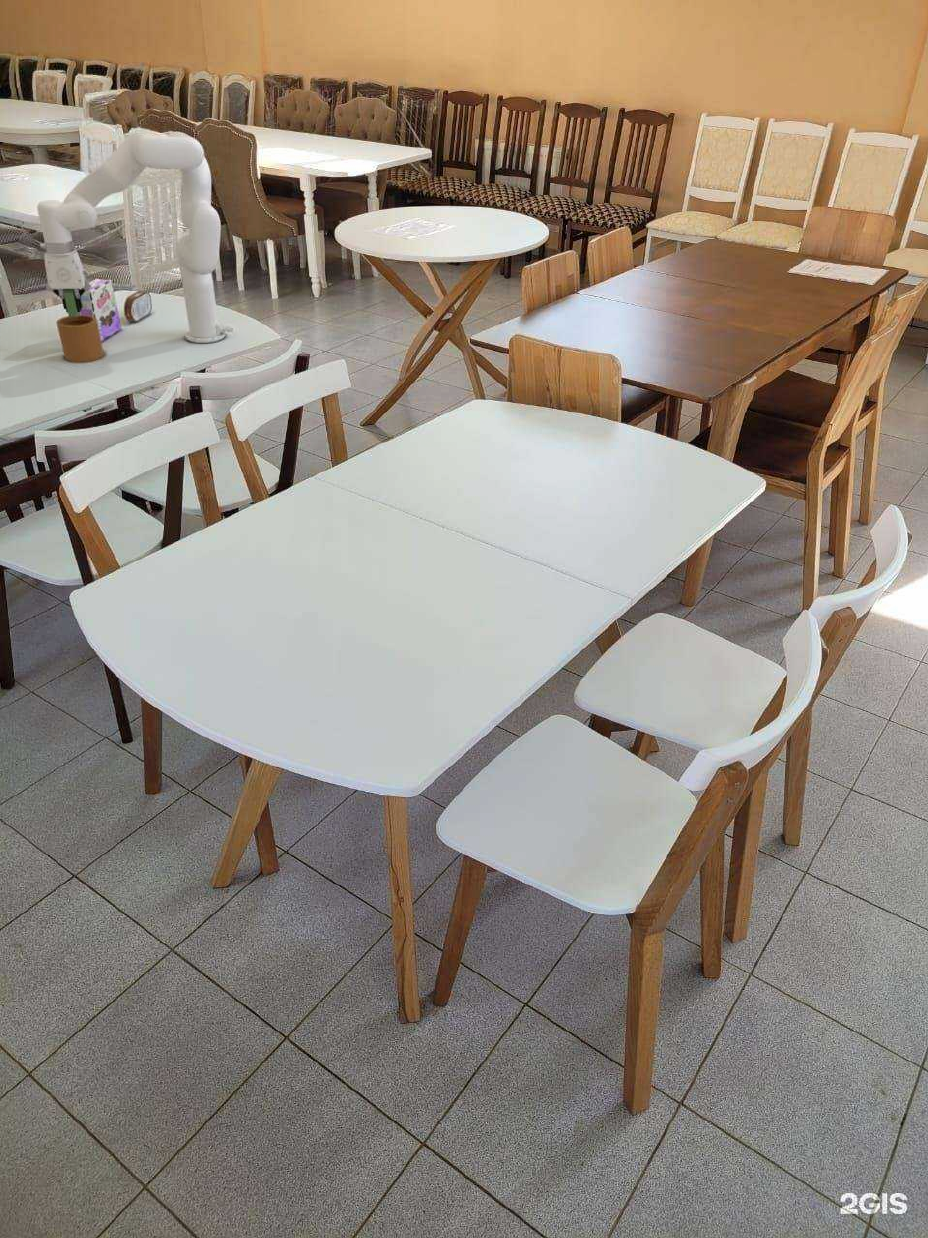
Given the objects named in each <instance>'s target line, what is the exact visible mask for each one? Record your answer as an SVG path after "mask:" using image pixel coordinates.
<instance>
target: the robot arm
mask: <svg viewBox="0 0 928 1238" xmlns="http://www.w3.org/2000/svg"><path fill="white" fill-rule="evenodd" d="M147 168H149V169H156V170H179V171H180V174H181V187H182V188H181V203H180V220H181V222H182V224H183V225H184V227H186V229H188V234H186V235H182V236H181V237H180V238H179V239H178V241H177V243H176V245H175V256H176V261H177V265H178V269H179V273H180V277H181V283H182V288H183V289H182V290H183V297H184V304H185V310H186V315H187V324H188V329H189V330H188V331H187V332H185V334H184V335H185V336H184V337H185V339H186V340H187V341H189V342H192V343H198V344H207V343H214V342H218V341H221V340H222V339H224V338H225V336H226V333H227V332H228V333H233V332H234V325H230V324H229V323H225V324H223V323H221V321H220V320H221V319H219V317H218V311H217V303H216V295H215V288H214V287H215V286H214V280H213V274H212V273H213V272H214V271H215V270H216V268H217V266H218V263H219V258H220V247H221V231H222V224H221V223H222V222H221V219H220V215H219V213H218V211H217V209H215V208H214V207H213V206H212V174H211V169H210V166H209V163H208V160H207V159H206V156H205V150H204V148H203V146H202V144H201V143H200V141H199V140H197V139H196V138H194V137H192V136H190V135H188V134H187V133H185V132H181V131H173V132H170V133H168V135H167V136H163V135H153V134H151V133H148V132H146V131H143V130H135V131H134V132H132V133H130V134H129V135H128V136H127V137H126V138H125V139H124V140H123V142H121V143H120V145H119V146H118V147H117V148H116V149H114V151H113V152H112V153H111V154H110V156H108V157H107V159H106V160H105V161H104V162H103V163H102V164H101V165H99V166H97V167H96V168H95V169H94V170H92V172H89V174H87V175H86V176H85V177H84V178H83V179H81V180H80V181H79V182H78V183H77V184H76V185H75V186H74V187H73V188H72V189H71V191H70V192H69V193H68V194H67V195H66V196H65V197H64V199H63V202H62V201H60V200H51V199H50V200H43V201H40V202H39V203H37V206H36V209H37V210H36V211H37V213H38V218H39V223H40V227H41V232H42V236H43V240H44V242H42V243H40V244H39V246H40V249H43V250H45V252H44V255H43V256H44V267H45V274H46V279H47V283H46V287H45V289H46V291H49V292H51V293H54V294H55V295H56V296H57V297H59V299H61V302H62V307H63V309H64V310H65V312H66V314H68V311H67V306H66V302H65V297H64V293H63V289H74V292H75V303H76V307H77V312H80V311H81V309H82V308H83V305H82V301H81V296H82V295H83V293H84V292H86V291H88V290H90V289H91V285H90V284H89V283H90V281H88V279H87V278H86V273H85V270H84V267H83V263H82V260H81V258H80V255H79V253H78V251H77V250H75V246H74V241H73V236H72V232H71V229H79V230H86V229H90V228H93V227H94V226H96V225H95V224H97V221H98V212H97V211H96V207H97V206H98V205H99V204H100V203H101V202H102V201H103V200H105V199H106V198H107V197H110V196H111V195H114V194H118V193H121V192H123V191H125V190H127V189H128V188H129V186H130V185H131V184H132V183H133V182H134V181H135V180H136V179H137V178H138V177H139V176H140V175H141V174H142V173H143V172H144V171H145V170H146V169H147ZM84 286H85V287H84Z"/></svg>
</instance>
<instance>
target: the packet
mask: <svg viewBox="0 0 928 1238" xmlns="http://www.w3.org/2000/svg"><path fill="white" fill-rule="evenodd" d="M63 293H64V297H65V302H66V306H67V311H68V313H67V315H68V316H69V317H78V315H79V313H80V312H81V311H80V312H77V307H76V303H75V292H74V289H63Z"/></svg>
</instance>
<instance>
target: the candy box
mask: <svg viewBox="0 0 928 1238" xmlns="http://www.w3.org/2000/svg"><path fill="white" fill-rule="evenodd" d="M89 284H90V285H91V289H90V290H88V291H86V292H84V293H83V295H82V296H81V301H82V305H83V308H82V309H81V312H80V313H79V315H90V316H93V317H96V319H97V324H98V328H99V333H100V338H101V342H104V341H105V340H107V339H108V338H110V337H112V336H114V335H116V333H118V332H120V331H121V330H122V326H121V321H120V317H119V311H118V306H117V301H116V295H115V291H114V286H113V281H112V279H103V278H94V280H92V281H89ZM84 287H85V286H84Z"/></svg>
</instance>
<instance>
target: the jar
mask: <svg viewBox="0 0 928 1238" xmlns="http://www.w3.org/2000/svg"><path fill="white" fill-rule="evenodd" d="M56 326H57V330H58V331H57V332H58V335H59V339H60V343H61V348H62V351H63V355H64V359H65V360H66V361H68V362H73V363H89V362H94V361H97V360H99V359H101V358H103V356H104V354H105V353H104V348H103V343H102V342H103V341H102V342H101V338H100V333H99V328H98V324H97V319H96V317H93V316H90V315H78V317H69V315H68V316H64V317H61V318H59V319H57V320H56Z"/></svg>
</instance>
